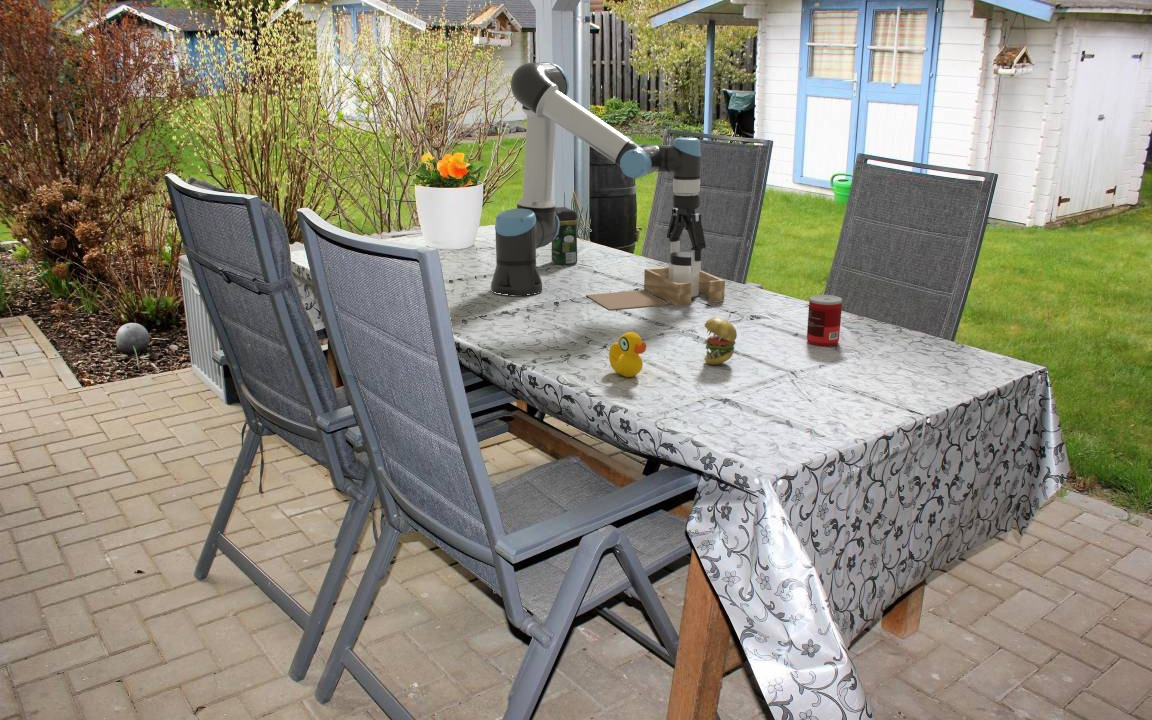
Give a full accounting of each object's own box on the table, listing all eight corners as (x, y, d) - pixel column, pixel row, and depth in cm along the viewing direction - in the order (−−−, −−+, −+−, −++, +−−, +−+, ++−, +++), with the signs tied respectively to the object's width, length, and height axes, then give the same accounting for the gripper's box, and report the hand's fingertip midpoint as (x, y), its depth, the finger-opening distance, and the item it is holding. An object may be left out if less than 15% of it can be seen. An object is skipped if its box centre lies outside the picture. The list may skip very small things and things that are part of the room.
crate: (676, 305, 278) (676, 284, 276) (644, 288, 298) (644, 269, 296) (724, 301, 283) (725, 280, 281) (689, 285, 303) (690, 265, 301)
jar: (683, 299, 285) (685, 258, 281) (662, 295, 290) (663, 254, 287) (703, 294, 290) (705, 254, 287) (682, 290, 296) (683, 250, 293)
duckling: (654, 380, 214) (655, 335, 212) (634, 385, 212) (635, 339, 209) (621, 367, 223) (622, 324, 220) (602, 371, 220) (603, 327, 217)
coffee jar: (548, 261, 338) (548, 206, 332) (570, 259, 340) (570, 205, 335) (557, 266, 329) (557, 210, 323) (580, 265, 331) (580, 209, 326)
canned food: (840, 339, 245) (843, 295, 242) (837, 348, 238) (840, 303, 235) (808, 336, 248) (811, 293, 245) (804, 345, 241) (807, 300, 237)
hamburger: (701, 358, 230) (703, 308, 226) (733, 358, 230) (735, 308, 226) (704, 368, 223) (706, 316, 219) (737, 369, 222) (739, 316, 219)
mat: (609, 310, 273) (609, 309, 273) (586, 295, 289) (586, 294, 289) (669, 304, 279) (669, 303, 279) (642, 291, 295) (642, 290, 295)
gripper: (719, 198, 272) (717, 274, 278) (679, 188, 294) (678, 259, 300) (694, 200, 269) (693, 277, 275) (655, 189, 292) (655, 261, 298)
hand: (685, 268), depth 288 cm, fingers open, 13 cm apart
